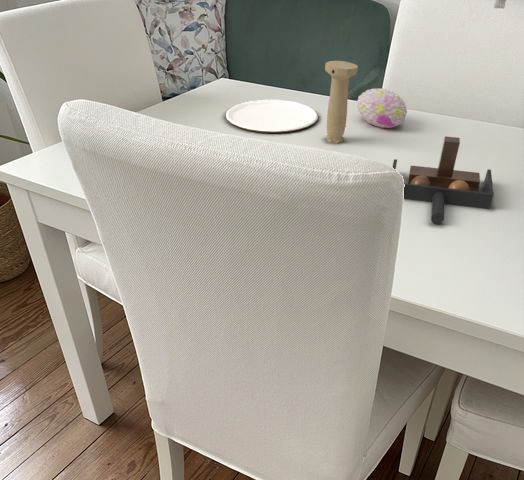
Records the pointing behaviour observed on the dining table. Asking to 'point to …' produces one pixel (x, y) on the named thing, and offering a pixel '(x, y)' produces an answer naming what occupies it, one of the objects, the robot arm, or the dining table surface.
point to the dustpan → (449, 196)
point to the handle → (338, 98)
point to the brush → (446, 168)
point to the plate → (271, 116)
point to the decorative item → (381, 108)
